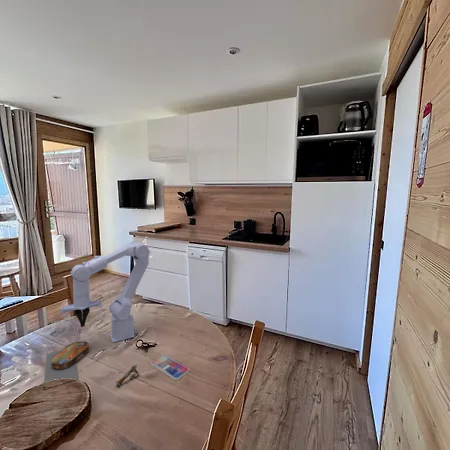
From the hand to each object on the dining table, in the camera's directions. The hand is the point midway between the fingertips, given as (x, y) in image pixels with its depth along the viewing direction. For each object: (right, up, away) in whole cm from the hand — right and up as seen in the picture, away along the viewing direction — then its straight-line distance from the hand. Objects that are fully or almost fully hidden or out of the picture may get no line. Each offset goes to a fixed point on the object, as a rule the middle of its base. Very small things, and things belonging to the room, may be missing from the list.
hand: (82, 325), depth 107 cm
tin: (+3, -10, -6) cm, 12 cm away
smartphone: (+38, -13, -9) cm, 41 cm away
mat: (-3, -12, -10) cm, 15 cm away
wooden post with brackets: (+25, -13, -16) cm, 33 cm away
